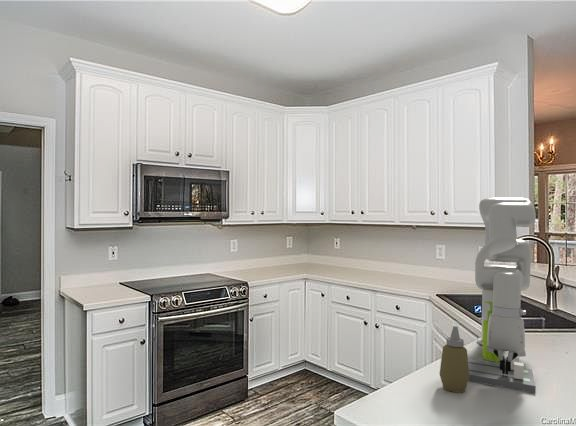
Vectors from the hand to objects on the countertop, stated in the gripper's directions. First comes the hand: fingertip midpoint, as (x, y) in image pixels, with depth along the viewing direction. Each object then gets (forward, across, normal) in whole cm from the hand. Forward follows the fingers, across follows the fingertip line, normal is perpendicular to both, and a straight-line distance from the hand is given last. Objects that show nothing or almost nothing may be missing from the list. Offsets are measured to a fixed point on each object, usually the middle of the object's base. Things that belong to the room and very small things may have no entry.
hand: (505, 372), depth 127 cm
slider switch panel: (+3, +3, -4) cm, 6 cm away
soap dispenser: (+3, +5, -24) cm, 25 cm away
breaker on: (+1, -3, -8) cm, 8 cm away
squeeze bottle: (+3, +13, +13) cm, 19 cm away
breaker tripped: (+1, -3, 0) cm, 4 cm away
